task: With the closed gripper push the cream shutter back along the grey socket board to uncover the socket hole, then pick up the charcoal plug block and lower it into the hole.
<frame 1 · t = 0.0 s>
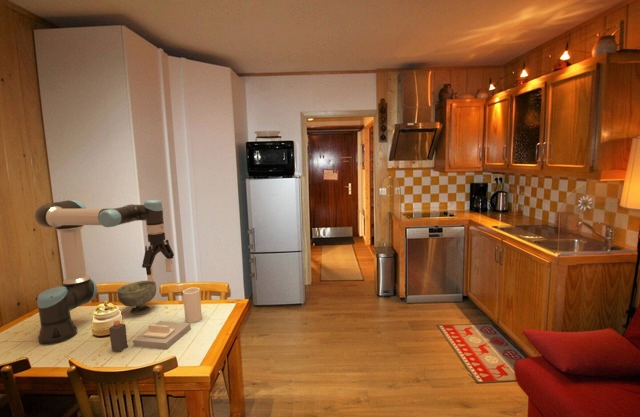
hand: (160, 276, 170), 28 cm above the table, fingers open, 13 cm apart
shutter: (158, 329, 164), point 5 cm above the table, slide at 0.0 cm
socket board: (160, 339, 165), on the table
bowl: (139, 311, 198), on the table
cup: (193, 319, 186), on the table
plug: (119, 349, 158), on the table
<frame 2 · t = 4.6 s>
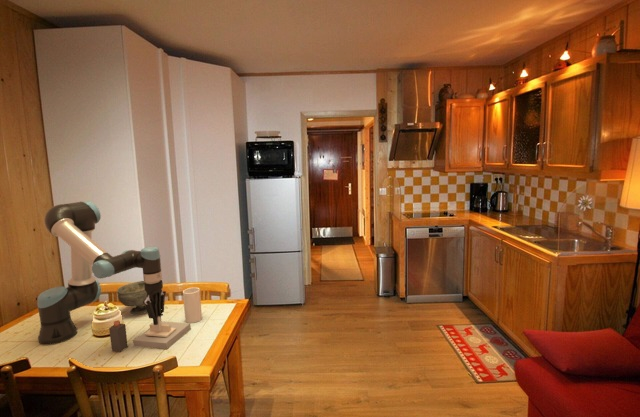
hand: (158, 330, 164), 5 cm above the table, fingers closed
shutter: (160, 328, 165), point 5 cm above the table, slide at 0.9 cm, touching gripper
everything else where it was.
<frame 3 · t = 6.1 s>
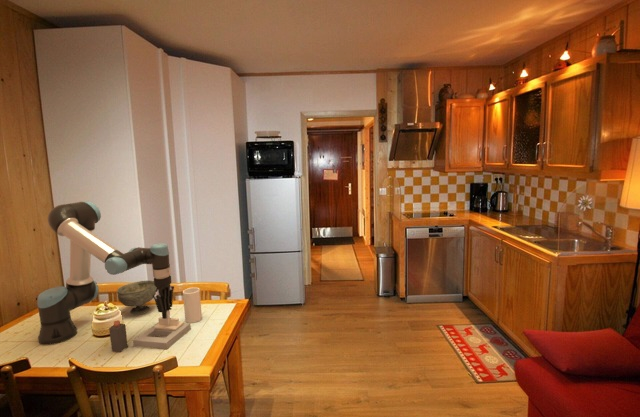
hand: (166, 323, 170), 5 cm above the table, fingers closed
shutter: (168, 322, 171), point 5 cm above the table, slide at 7.4 cm, touching gripper
everything else where it was.
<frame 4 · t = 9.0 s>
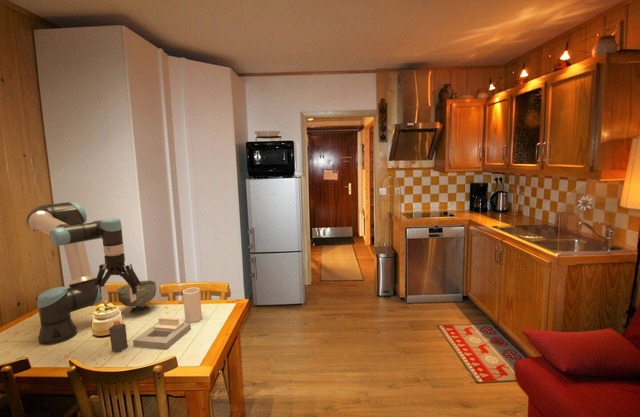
hand: (119, 300, 156), 22 cm above the table, fingers open, 13 cm apart
shutter: (168, 322, 172), point 5 cm above the table, slide at 7.5 cm
everything else where it was.
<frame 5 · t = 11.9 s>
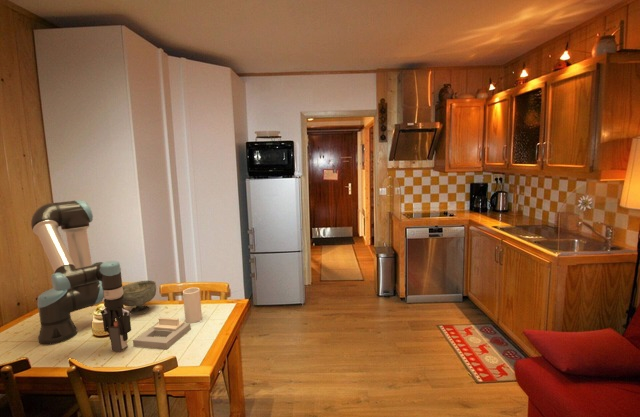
hand: (119, 346, 158), 1 cm above the table, fingers closed on plug, 4 cm apart
plug: (119, 349, 158), on the table, touching gripper
everything else where it was.
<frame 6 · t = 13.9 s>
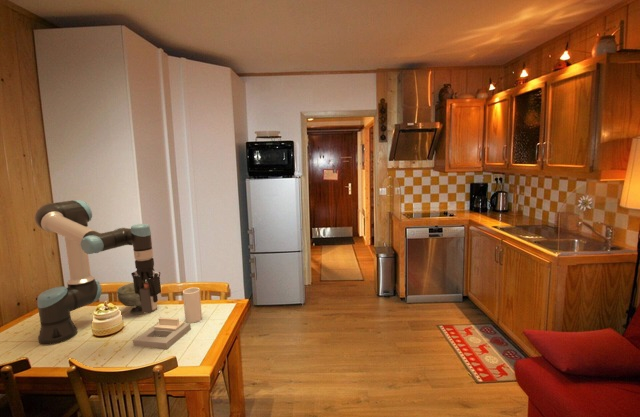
hand: (149, 308, 161), 16 cm above the table, fingers closed on plug, 4 cm apart
plug: (149, 310, 161), point 15 cm above the table, touching gripper
everything else where it was.
when the fingers open (4 cm above the table, at t = 16.2 s): plug drops 2 cm, resting in socket board.
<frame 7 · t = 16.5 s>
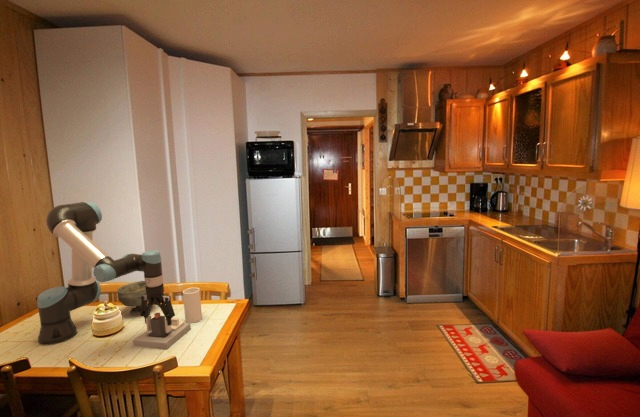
hand: (159, 330, 164), 5 cm above the table, fingers open, 9 cm apart
plug: (159, 340, 165), resting in socket board
everything else where it was.
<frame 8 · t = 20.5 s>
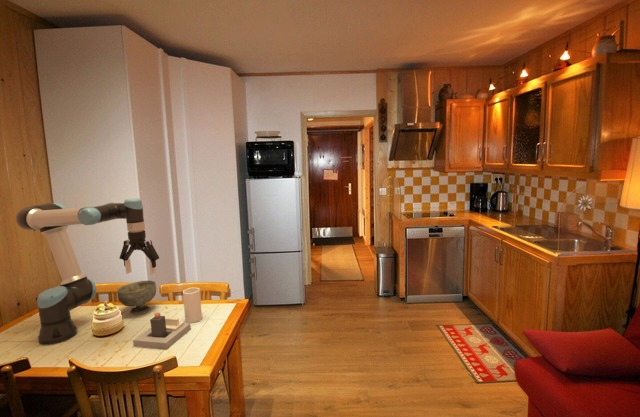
hand: (140, 273, 173), 29 cm above the table, fingers open, 13 cm apart
nothing on the table moved.
at the end: plug 0.1 cm off-centre on the socket board, point 0.0 cm above the socket board's base; plug tilted 0°; shutter slide at 7.5 cm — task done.
